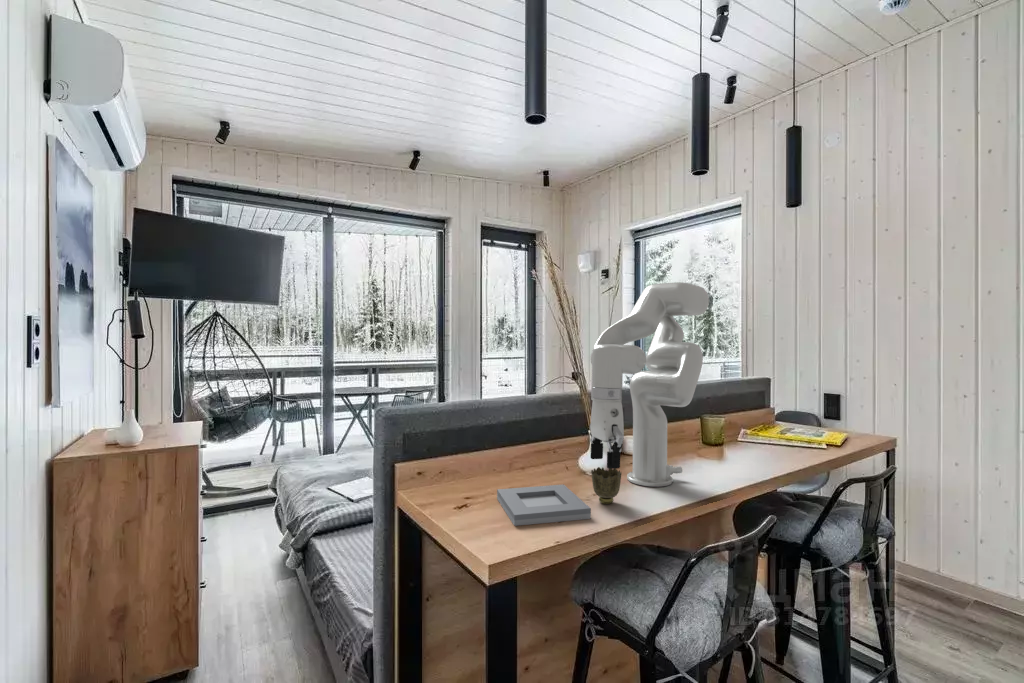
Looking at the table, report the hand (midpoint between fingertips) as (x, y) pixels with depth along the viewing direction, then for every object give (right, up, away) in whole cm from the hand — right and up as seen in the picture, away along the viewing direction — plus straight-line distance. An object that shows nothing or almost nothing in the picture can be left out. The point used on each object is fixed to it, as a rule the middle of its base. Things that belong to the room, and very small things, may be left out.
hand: (604, 463), depth 121 cm
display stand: (-16, -10, -3) cm, 19 cm away
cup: (+1, -10, +1) cm, 10 cm away
